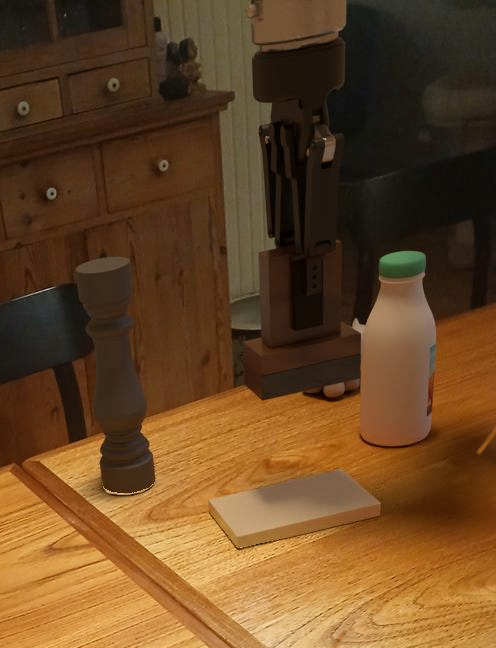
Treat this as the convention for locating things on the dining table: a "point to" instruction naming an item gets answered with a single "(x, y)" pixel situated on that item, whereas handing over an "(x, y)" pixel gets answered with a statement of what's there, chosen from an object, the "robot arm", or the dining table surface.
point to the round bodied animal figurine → (344, 386)
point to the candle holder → (116, 375)
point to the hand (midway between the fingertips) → (300, 321)
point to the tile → (293, 508)
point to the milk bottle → (398, 356)
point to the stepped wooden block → (299, 333)
